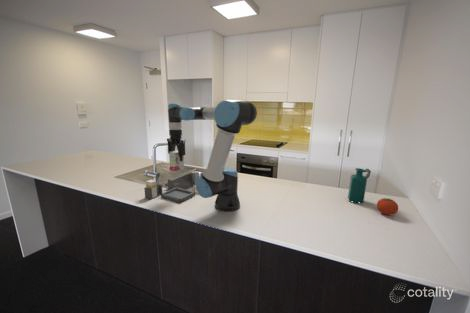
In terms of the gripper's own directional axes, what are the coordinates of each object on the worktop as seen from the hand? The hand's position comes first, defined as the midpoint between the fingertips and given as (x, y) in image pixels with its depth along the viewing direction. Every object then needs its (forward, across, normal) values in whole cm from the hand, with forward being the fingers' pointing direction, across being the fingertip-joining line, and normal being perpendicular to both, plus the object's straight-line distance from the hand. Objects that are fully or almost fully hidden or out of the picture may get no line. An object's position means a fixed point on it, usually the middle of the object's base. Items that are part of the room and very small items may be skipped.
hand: (177, 165), depth 139 cm
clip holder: (+21, +14, +2) cm, 26 cm away
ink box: (+3, 0, 0) cm, 3 cm away
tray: (+21, 0, 0) cm, 21 cm away
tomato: (+23, -119, -43) cm, 128 cm away
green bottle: (+22, -104, -55) cm, 120 cm away
